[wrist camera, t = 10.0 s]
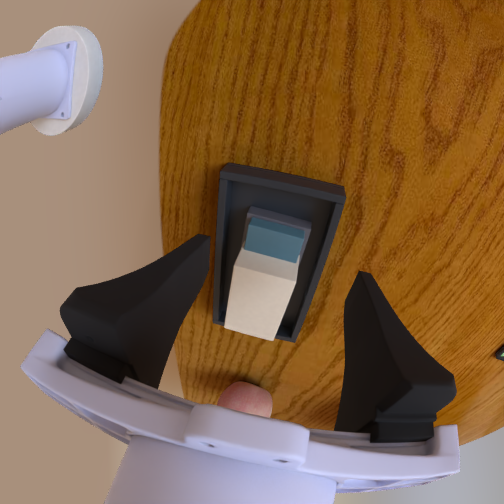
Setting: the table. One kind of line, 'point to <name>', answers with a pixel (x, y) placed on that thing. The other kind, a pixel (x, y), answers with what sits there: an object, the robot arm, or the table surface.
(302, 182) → the tray
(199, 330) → the table surface
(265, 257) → the toy truck
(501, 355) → the smartphone
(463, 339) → the table surface
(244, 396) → the apple
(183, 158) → the table surface
